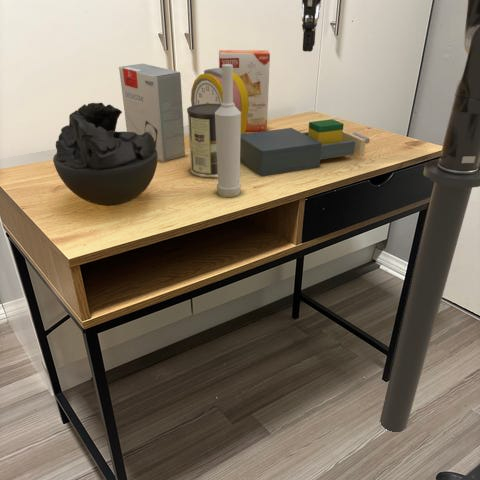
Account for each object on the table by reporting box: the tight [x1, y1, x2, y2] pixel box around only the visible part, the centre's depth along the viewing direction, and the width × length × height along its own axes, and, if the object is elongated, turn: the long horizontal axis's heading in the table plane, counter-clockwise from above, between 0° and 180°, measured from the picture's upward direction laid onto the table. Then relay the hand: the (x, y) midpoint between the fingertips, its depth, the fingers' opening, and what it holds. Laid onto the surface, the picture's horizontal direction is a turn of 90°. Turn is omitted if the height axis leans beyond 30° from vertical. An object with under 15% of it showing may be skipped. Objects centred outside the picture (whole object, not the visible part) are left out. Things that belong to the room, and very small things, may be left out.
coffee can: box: [186, 104, 221, 178], centre depth 117 cm, size 10×10×14 cm
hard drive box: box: [118, 63, 186, 163], centre depth 127 cm, size 16×8×20 cm, turn 44°
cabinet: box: [240, 127, 322, 177], centre depth 125 cm, size 16×15×6 cm
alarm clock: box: [190, 67, 249, 134], centre depth 136 cm, size 15×8×18 cm, turn 42°
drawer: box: [302, 129, 371, 161], centre depth 130 cm, size 19×14×4 cm
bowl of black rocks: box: [52, 102, 158, 207], centre depth 100 cm, size 20×20×19 cm
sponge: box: [307, 118, 345, 145], centre depth 128 cm, size 7×5×6 cm
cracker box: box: [218, 49, 271, 132], centre depth 145 cm, size 14×6×21 cm, turn 92°
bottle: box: [215, 64, 242, 198], centre depth 102 cm, size 5×5×25 cm
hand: (308, 48), depth 114 cm, fingers open, 8 cm apart
